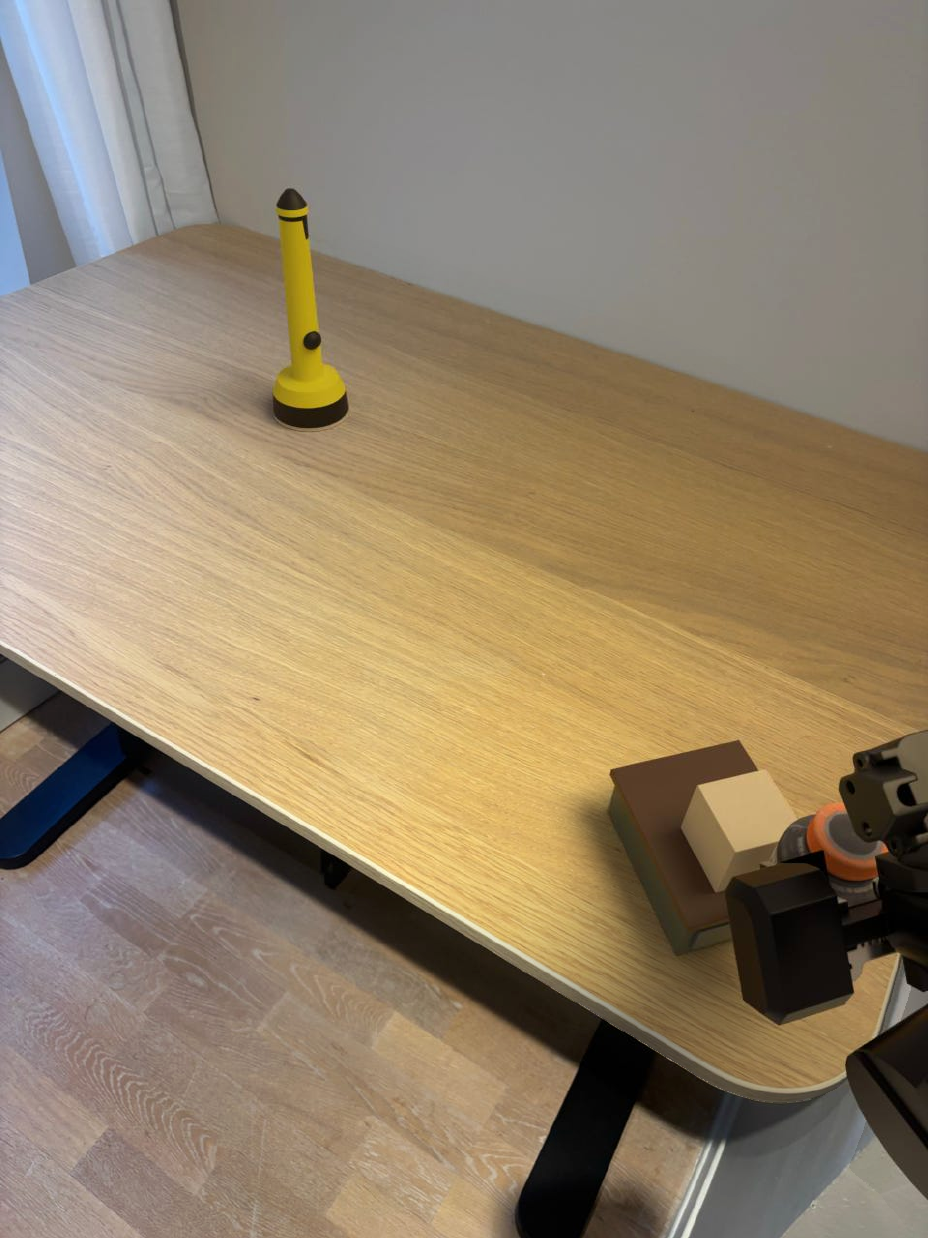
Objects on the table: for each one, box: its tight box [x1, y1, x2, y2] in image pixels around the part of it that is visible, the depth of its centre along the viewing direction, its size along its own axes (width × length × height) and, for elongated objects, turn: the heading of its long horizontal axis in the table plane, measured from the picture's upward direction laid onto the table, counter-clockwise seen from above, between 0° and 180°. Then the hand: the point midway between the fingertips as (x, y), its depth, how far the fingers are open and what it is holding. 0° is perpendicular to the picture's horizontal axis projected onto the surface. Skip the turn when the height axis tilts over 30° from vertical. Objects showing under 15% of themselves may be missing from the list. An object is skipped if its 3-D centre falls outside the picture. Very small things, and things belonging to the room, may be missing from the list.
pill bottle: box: [768, 801, 889, 907], centre depth 49 cm, size 6×6×11 cm
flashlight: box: [272, 187, 350, 433], centre depth 95 cm, size 25×9×9 cm
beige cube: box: [681, 768, 799, 893], centre depth 56 cm, size 5×5×5 cm
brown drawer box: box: [607, 739, 759, 957], centre depth 61 cm, size 12×10×5 cm
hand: (812, 857), depth 49 cm, fingers closed on pill bottle, 6 cm apart
